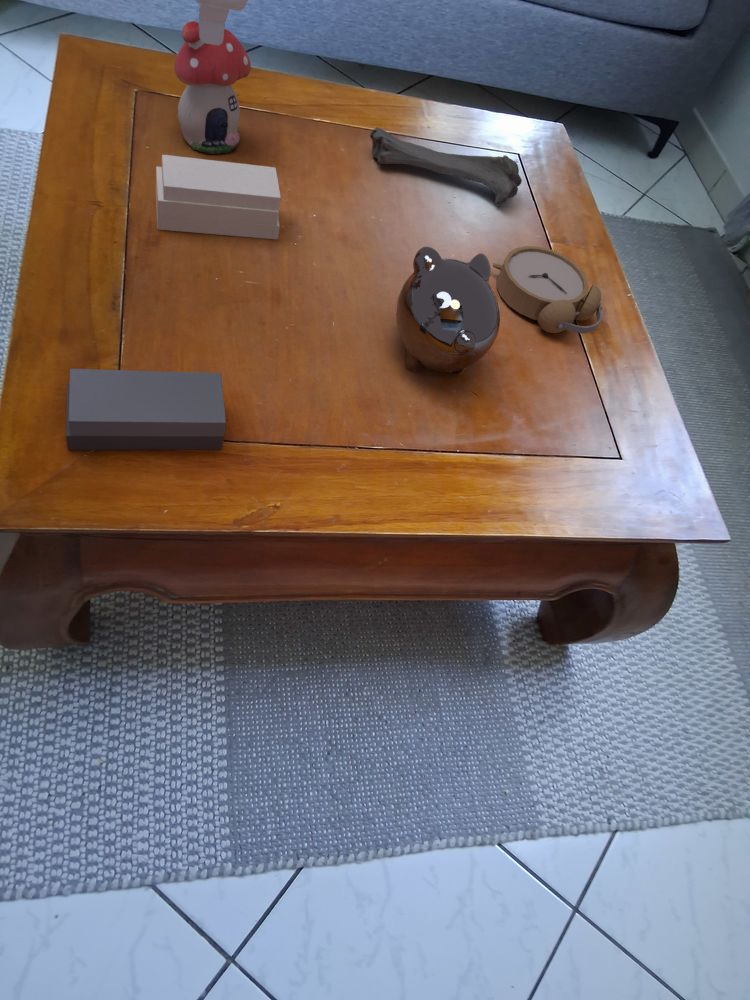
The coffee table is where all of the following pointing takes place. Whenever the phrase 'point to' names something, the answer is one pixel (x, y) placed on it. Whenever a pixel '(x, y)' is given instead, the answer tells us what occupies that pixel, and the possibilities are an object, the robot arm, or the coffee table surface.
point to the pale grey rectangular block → (220, 182)
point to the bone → (450, 164)
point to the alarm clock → (548, 289)
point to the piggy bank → (447, 312)
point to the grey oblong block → (213, 217)
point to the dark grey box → (144, 410)
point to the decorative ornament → (210, 90)
